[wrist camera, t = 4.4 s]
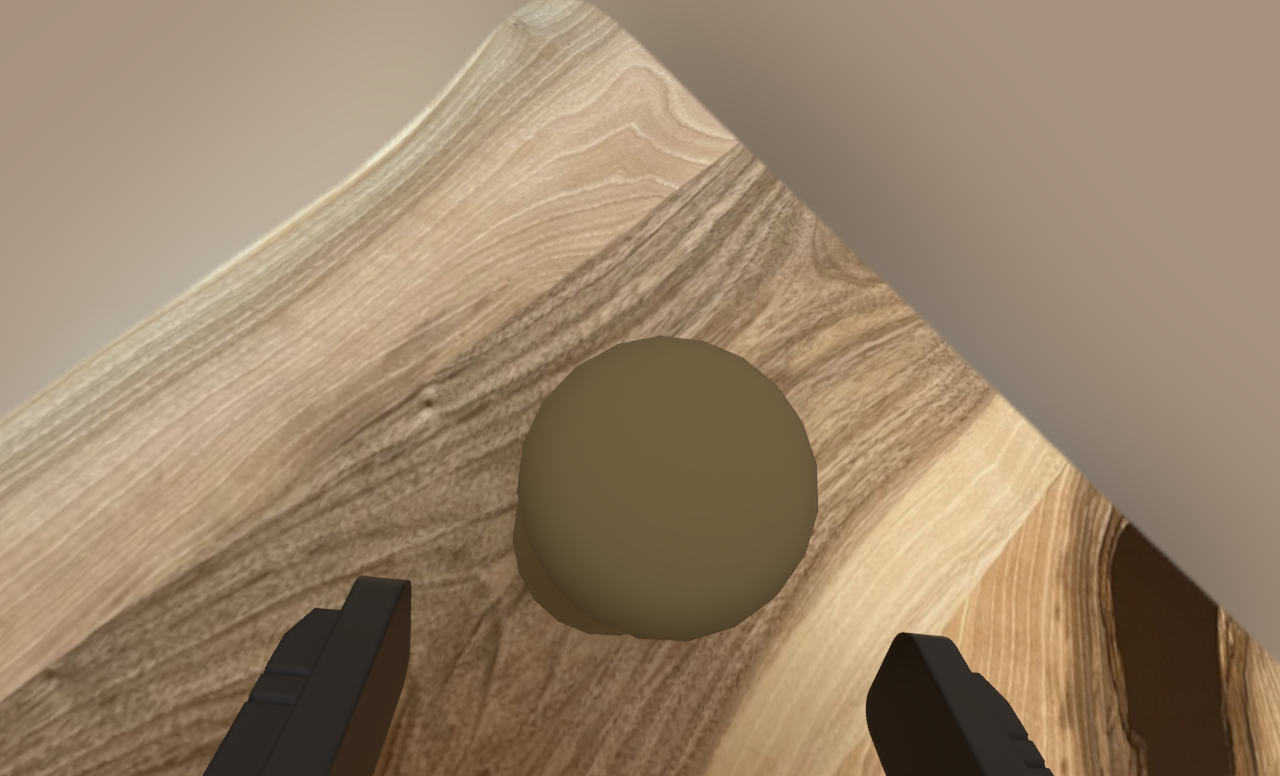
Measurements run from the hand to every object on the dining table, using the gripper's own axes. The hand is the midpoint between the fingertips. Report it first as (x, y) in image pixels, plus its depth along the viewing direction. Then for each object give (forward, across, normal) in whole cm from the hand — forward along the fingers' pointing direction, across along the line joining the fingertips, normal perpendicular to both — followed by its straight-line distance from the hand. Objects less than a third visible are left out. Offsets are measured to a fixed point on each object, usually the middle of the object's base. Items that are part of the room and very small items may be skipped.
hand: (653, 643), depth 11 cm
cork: (+8, 0, +5) cm, 10 cm away
